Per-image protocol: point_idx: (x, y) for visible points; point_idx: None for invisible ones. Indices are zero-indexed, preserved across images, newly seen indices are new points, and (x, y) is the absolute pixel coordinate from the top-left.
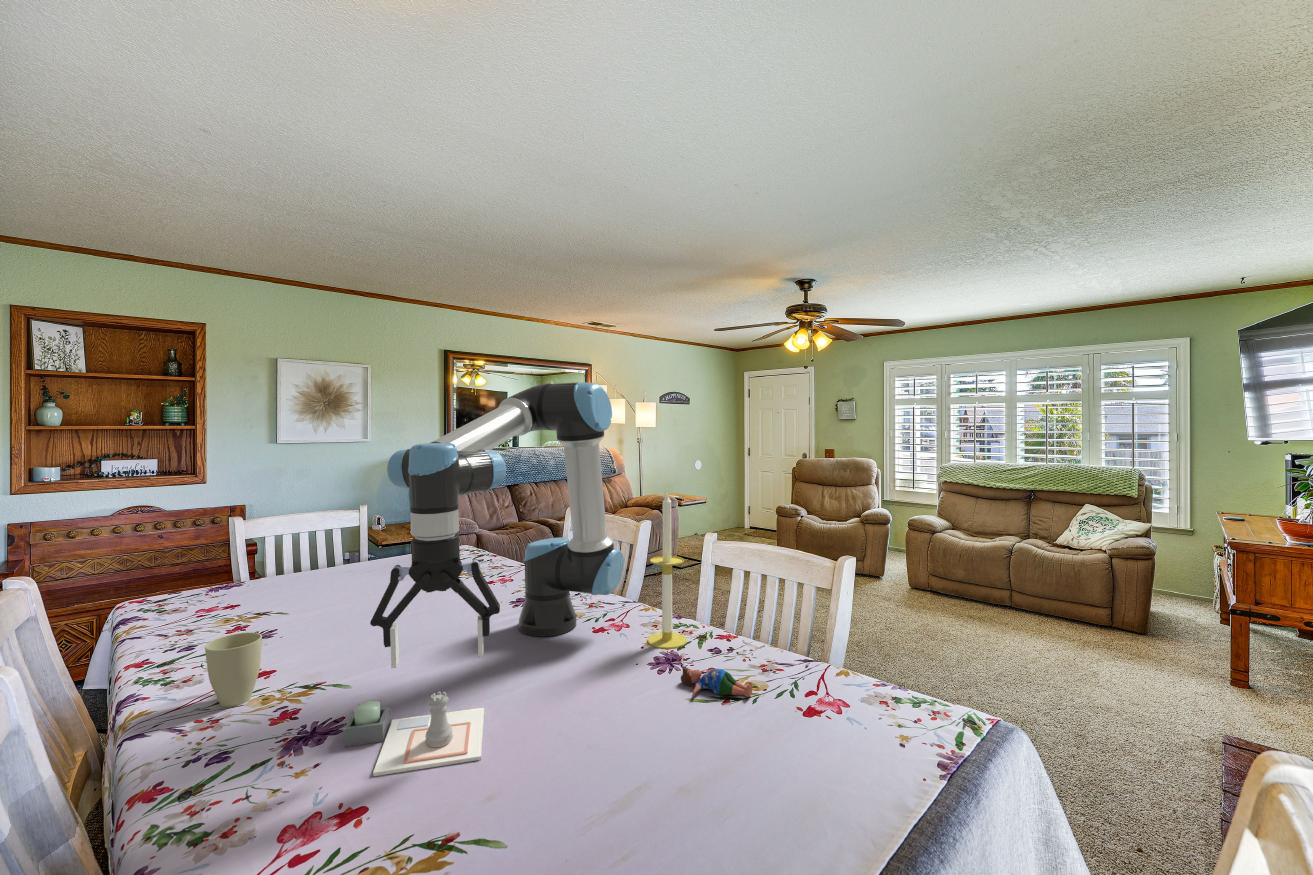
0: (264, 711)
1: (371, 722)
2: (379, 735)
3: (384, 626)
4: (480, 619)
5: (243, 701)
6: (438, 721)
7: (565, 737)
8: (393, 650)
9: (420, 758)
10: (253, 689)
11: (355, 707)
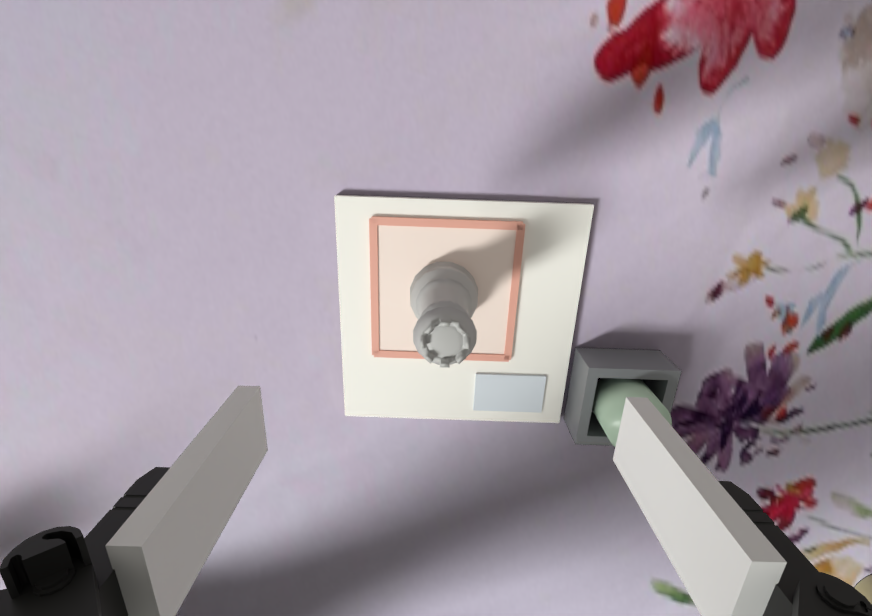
0: (825, 535)
1: (615, 385)
2: (587, 354)
3: (844, 591)
4: (121, 557)
5: (869, 579)
6: (443, 294)
7: (123, 231)
8: (678, 451)
9: (484, 225)
10: None
11: None
